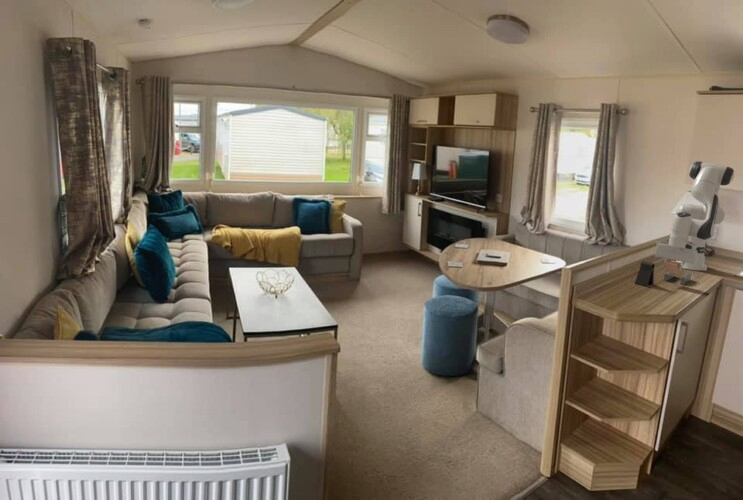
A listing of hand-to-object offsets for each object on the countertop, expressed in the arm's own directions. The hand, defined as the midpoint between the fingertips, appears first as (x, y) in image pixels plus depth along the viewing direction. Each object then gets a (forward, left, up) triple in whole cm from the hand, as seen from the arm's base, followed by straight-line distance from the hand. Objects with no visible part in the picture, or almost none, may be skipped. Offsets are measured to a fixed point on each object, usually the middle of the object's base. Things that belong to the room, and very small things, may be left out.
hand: (673, 267), depth 302 cm
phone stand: (+13, -10, -9) cm, 19 cm away
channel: (-13, 0, -9) cm, 16 cm away
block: (+1, 0, -2) cm, 2 cm away
